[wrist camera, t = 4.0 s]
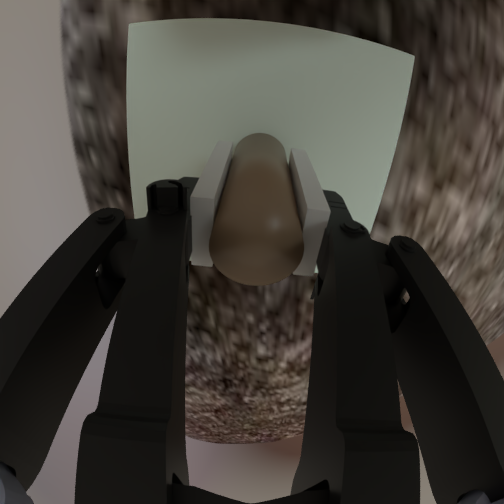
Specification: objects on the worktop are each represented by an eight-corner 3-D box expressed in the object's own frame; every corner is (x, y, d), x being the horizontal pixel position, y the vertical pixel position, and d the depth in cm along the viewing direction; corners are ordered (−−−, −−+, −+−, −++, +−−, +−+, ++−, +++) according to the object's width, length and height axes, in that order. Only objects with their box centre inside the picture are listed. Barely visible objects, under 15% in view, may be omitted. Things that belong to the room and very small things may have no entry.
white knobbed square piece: (389, 54, 15) (525, 76, 5) (343, 245, 25) (384, 380, 14) (152, 28, 15) (20, 15, 5) (154, 226, 24) (93, 354, 14)
